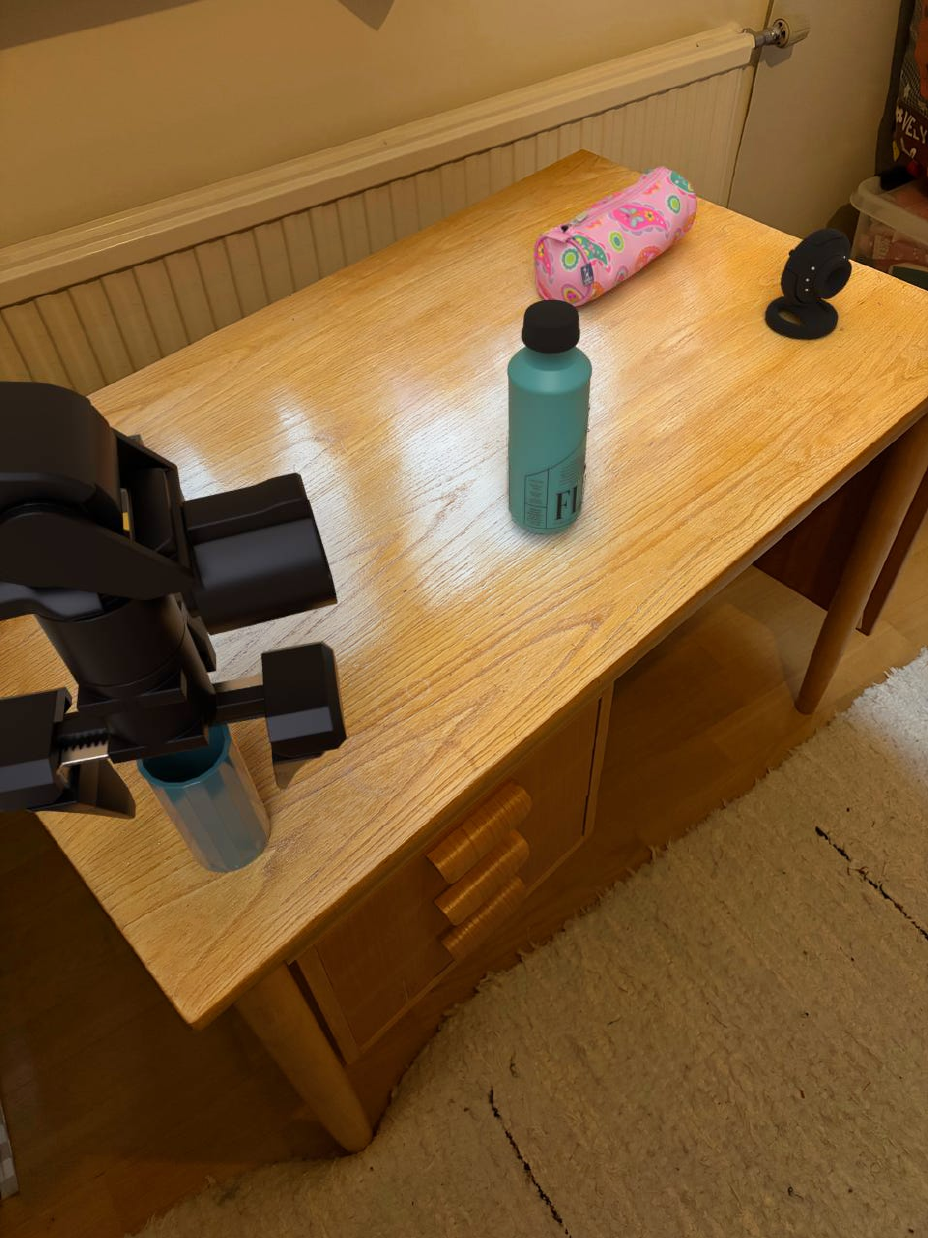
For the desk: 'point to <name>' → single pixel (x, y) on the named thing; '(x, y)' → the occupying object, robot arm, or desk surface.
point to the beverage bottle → (548, 419)
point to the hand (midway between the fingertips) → (208, 797)
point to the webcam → (812, 285)
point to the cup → (211, 801)
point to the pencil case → (614, 237)
